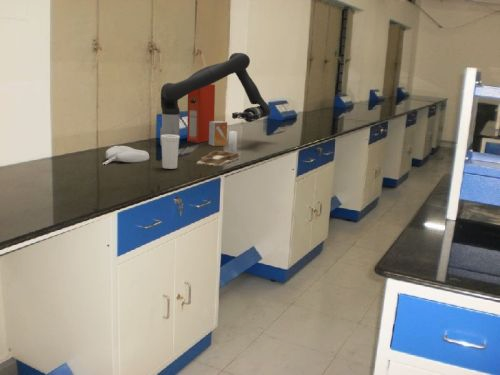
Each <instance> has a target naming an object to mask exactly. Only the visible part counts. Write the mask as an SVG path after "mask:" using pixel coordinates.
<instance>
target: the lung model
mask: <svg viewBox="0 0 500 375" xmlns="http://www.w3.org/2000/svg"><path fill="white" fill-rule="evenodd" d="M105 158H106V159H107V160H106V161H104V162H103V163H102V165H104V164H105V166H107V165H108V164H110V163H111V162H115V161H116V162H117V161H118V162H123V163H140V162H142V163H143V162H146V161H148V160H150V155H149V152H147V151H146V150H143V149H142V150H141V149H135V148H133V147H130V146H127V145H114V146H111V147H109V148H108V149H107V150H105Z"/></svg>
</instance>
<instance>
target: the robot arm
mask: <svg viewBox="0 0 500 375" xmlns="http://www.w3.org/2000/svg"><path fill="white" fill-rule="evenodd" d="M250 62H251V60H250V57H249V55H248V54H246V53H243V52H235V53H232V54H231V55H230V57H229V59H228V60H226V61H223V62H219V63H214V64H211V65H208V66H205V67H204V68H202V69H199V70H197V71H195V72H194V73H193V74H191V75H190V76H189V77H187V78H186V79H183V80H181V81H179V82H176V83H175V82H174V83H172V82H167V83H165V84H163V85H162V86H161V89H160V108H161V127H160V128H159V130H160V134H159V137H160V138H159V139H160V140H159V142H160V143H159V144H160V146H161V147H162V140H161V135H168V134H170V135H178V136H180V114H181V111H180V108H179V107H180V106H179V104H178V103H179V100H181V99H182V98H184V97H186V96H188V94H189V93H191V92H193V91H196V90H198V89H201V88H203V87H206V86H208V85H210V84H215V83H216V82H218V81H220V80H223V79H224V78H226V77H228V76H230V75H233V74H235V75H236V76H237V79H238V81H240V83H241V85H242V88H243V89H244V91H245V93H246V94H245V95H246V96H247V98H248V100H249V101H248V102H250V104H251V105H257V106H251V107H248V108H245V109H244V110H243V111H242V112H236V111H235V112H232V113H231V118H232V119H234V120H235V119H239V120H244V121H246V122H247V123H251V122H255V121H257V120H261V119H262V118H267V117H268V116H270V115H271V112H272V111H271V108H270V106H269V104H268V103H267V102H266V101H265V100H264V99H263V97H262V95H261V93H260V90H259V88H258V87H257V84H256V83H255V82H254V81H253V79H252V78H251V76H250V75H249V73H248V71H247V68H249V66H250ZM178 147H180V144H179V145H178Z"/></svg>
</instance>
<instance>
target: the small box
mask: <svg viewBox="0 0 500 375" xmlns="http://www.w3.org/2000/svg"><path fill="white" fill-rule="evenodd" d="M227 134H228V122H227V121H223V120H214V121H210V123H209V141H208V145H211V146H213V147H218V146H220V147H221V146H225V147H226V146H227V142H228V141H227V138H228V137H227V136H228V135H227Z"/></svg>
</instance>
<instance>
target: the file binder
mask: <svg viewBox="0 0 500 375" xmlns="http://www.w3.org/2000/svg"><path fill="white" fill-rule="evenodd" d="M215 87H216V85H215V84H214V83H212V84H210V85H208V86H206V87H203V88H201V89H198V90H196V91H193V92H191V93H189V94H187V138H186V139H187V142H188V141H190V142H189V143H193V142H194V143H193V144H201V143H204V142H209V123H210V121H215V96H216V94H215V93H216V88H215Z"/></svg>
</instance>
